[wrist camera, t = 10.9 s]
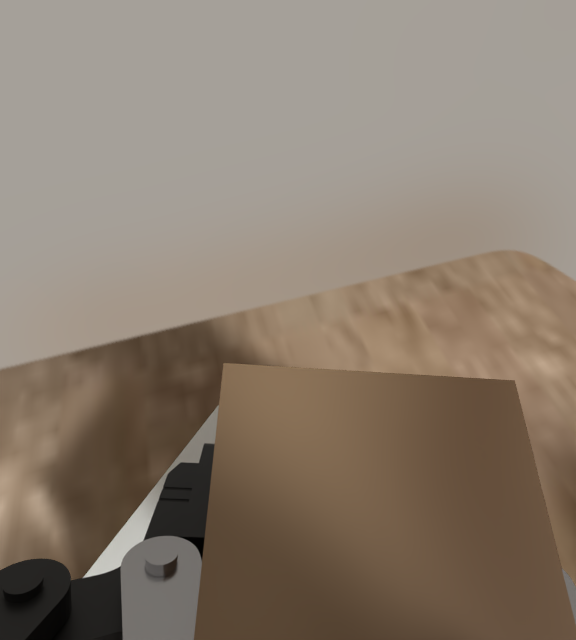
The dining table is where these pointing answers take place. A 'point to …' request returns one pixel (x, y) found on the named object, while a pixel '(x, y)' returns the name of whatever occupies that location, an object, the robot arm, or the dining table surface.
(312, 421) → the walnut block
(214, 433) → the storage box
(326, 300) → the dining table surface
